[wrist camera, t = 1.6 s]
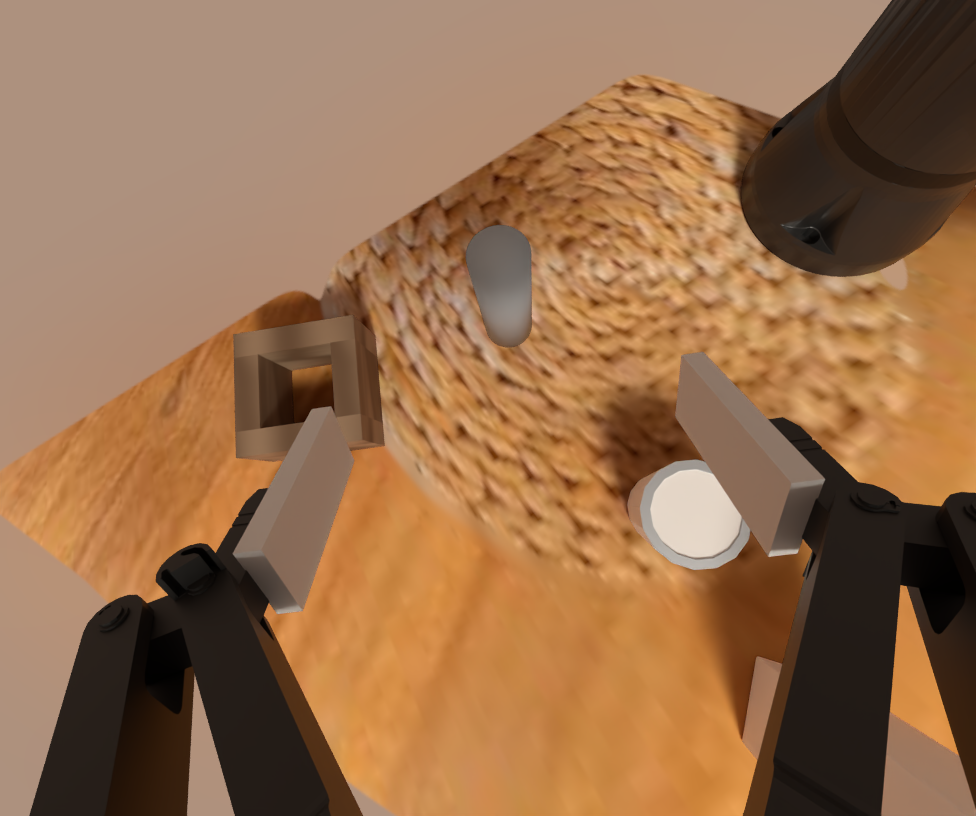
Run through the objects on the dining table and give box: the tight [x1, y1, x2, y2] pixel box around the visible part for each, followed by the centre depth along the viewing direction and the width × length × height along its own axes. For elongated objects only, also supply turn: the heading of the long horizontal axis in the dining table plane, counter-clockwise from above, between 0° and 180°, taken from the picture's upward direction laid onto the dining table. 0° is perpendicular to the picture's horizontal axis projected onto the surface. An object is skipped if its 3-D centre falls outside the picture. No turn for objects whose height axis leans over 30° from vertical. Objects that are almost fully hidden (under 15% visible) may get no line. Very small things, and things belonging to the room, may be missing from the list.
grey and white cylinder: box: [627, 459, 750, 570], centre depth 31 cm, size 7×7×7 cm
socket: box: [233, 315, 384, 462], centre depth 37 cm, size 10×10×5 cm
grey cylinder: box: [466, 225, 532, 347], centre depth 33 cm, size 4×4×12 cm
